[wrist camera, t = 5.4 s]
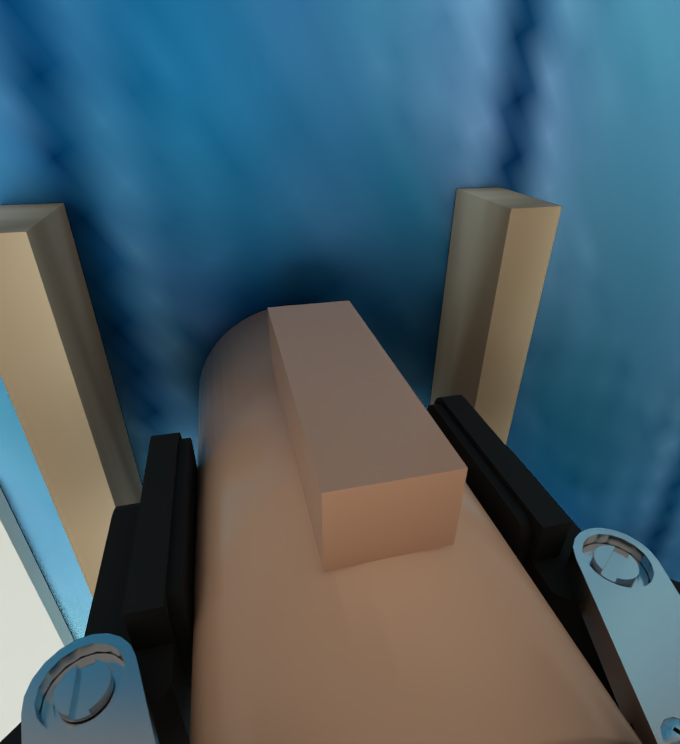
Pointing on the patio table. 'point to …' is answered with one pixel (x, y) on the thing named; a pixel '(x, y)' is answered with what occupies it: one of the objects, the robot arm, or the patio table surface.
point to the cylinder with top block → (359, 563)
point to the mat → (23, 620)
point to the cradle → (95, 384)
